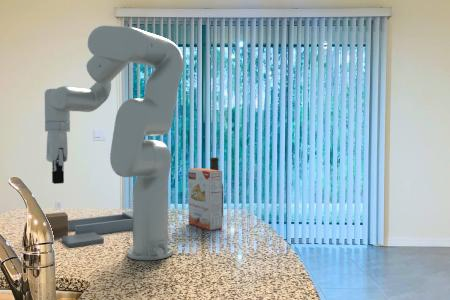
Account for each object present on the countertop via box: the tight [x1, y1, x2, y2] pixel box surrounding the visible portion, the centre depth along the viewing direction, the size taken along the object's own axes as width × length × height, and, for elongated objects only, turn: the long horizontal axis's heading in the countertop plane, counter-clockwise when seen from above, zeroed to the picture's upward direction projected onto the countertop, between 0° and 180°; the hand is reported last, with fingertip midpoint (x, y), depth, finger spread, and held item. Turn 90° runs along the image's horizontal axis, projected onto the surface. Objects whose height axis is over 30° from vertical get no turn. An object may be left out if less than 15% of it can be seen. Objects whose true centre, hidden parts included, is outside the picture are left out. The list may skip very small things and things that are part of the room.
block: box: [44, 211, 69, 239], centre depth 127 cm, size 6×6×7 cm
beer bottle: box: [209, 157, 224, 217], centre depth 161 cm, size 8×8×24 cm
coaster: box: [61, 232, 105, 248], centre depth 120 cm, size 10×10×1 cm
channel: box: [68, 210, 133, 235], centre depth 137 cm, size 11×25×4 cm, turn 125°
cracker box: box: [187, 167, 223, 232], centre depth 141 cm, size 14×6×21 cm, turn 37°
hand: (58, 183), depth 127 cm, fingers closed
